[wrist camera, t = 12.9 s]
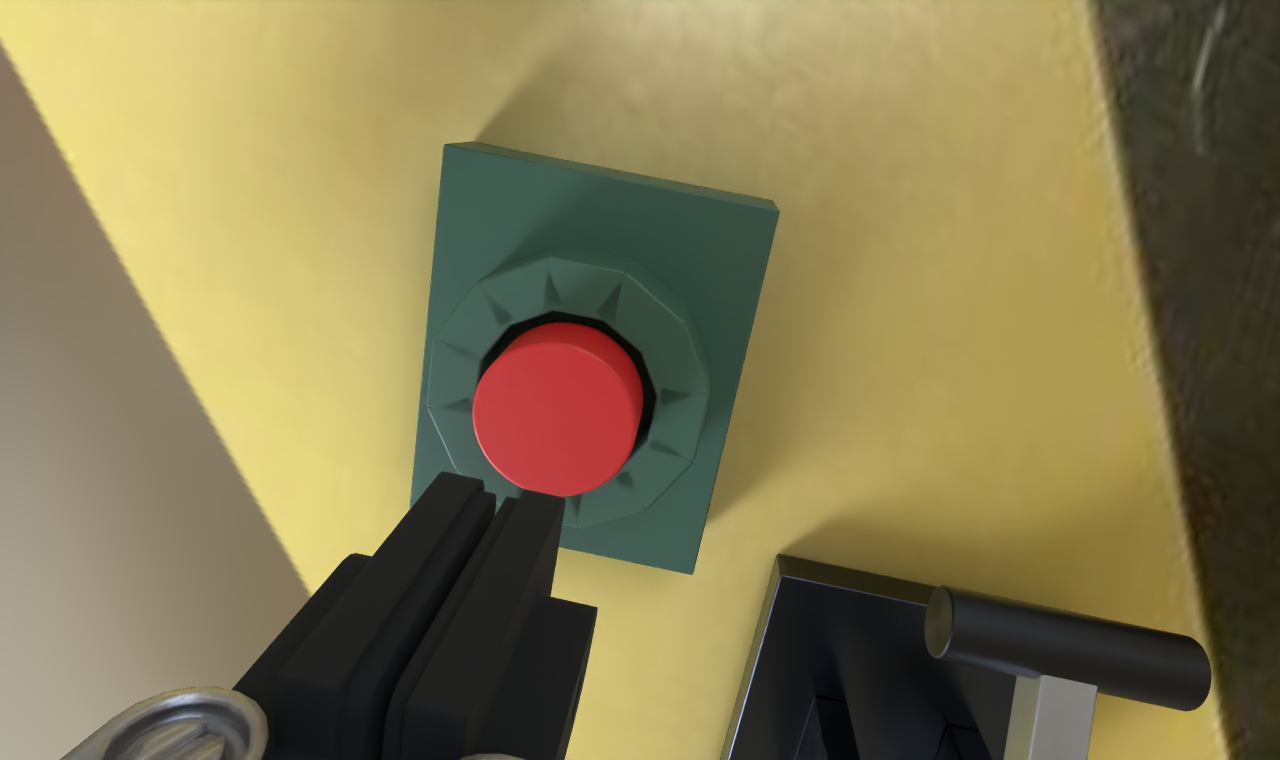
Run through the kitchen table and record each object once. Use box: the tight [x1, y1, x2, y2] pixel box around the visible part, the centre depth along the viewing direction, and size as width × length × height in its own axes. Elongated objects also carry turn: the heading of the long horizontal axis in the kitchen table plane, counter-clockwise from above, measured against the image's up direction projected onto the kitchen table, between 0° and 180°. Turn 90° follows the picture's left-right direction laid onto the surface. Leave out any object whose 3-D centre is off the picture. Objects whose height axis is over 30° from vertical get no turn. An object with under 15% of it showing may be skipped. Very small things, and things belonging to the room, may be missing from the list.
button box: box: [410, 142, 780, 575], centre depth 20 cm, size 10×8×4 cm
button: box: [472, 322, 643, 496], centre depth 17 cm, size 4×4×2 cm
